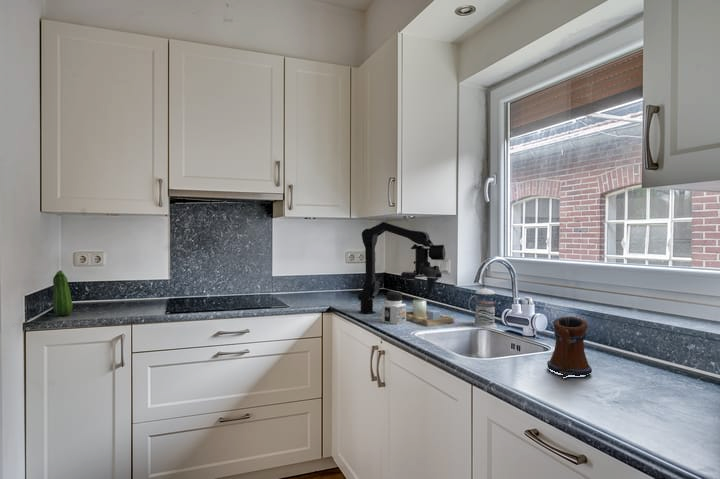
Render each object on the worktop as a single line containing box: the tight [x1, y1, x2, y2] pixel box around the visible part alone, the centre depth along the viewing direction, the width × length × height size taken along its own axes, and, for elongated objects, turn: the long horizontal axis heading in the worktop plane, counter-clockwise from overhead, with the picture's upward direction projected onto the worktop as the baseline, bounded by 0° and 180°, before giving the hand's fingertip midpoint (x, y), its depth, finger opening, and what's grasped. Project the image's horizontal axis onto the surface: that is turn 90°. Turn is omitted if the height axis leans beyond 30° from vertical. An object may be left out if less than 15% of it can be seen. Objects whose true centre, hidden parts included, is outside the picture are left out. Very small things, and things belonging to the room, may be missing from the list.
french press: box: [468, 267, 498, 329], centre depth 187 cm, size 10×12×25 cm
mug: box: [546, 316, 593, 377], centre depth 123 cm, size 18×12×15 cm, turn 146°
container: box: [381, 290, 407, 325], centre depth 191 cm, size 8×8×13 cm
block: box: [426, 309, 442, 320], centre depth 191 cm, size 4×4×4 cm
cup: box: [412, 299, 427, 318], centre depth 200 cm, size 6×6×7 cm
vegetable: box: [52, 270, 74, 317], centre depth 195 cm, size 7×7×20 cm
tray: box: [406, 310, 455, 327], centre depth 195 cm, size 20×14×2 cm
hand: (421, 293), depth 202 cm, fingers open, 9 cm apart
